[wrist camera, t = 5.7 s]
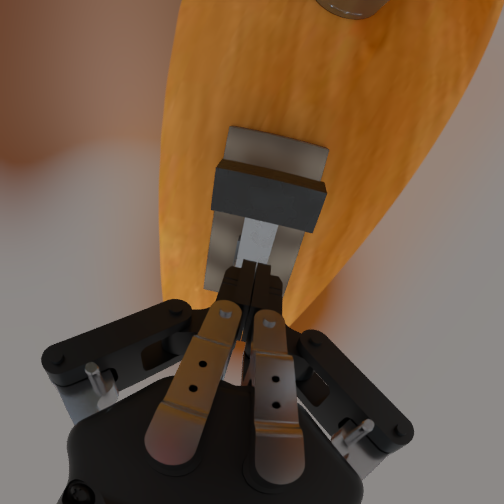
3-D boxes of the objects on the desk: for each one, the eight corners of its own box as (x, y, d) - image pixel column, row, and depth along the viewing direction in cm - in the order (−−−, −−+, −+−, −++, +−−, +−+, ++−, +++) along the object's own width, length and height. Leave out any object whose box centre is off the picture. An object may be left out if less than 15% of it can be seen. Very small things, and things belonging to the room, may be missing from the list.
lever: (226, 152, 24) (216, 167, 21) (322, 175, 24) (327, 193, 21) (207, 302, 37) (200, 324, 34) (271, 317, 37) (268, 339, 34)
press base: (232, 125, 31) (210, 131, 22) (326, 147, 31) (346, 163, 22) (206, 281, 43) (187, 329, 34) (280, 297, 43) (278, 350, 34)
